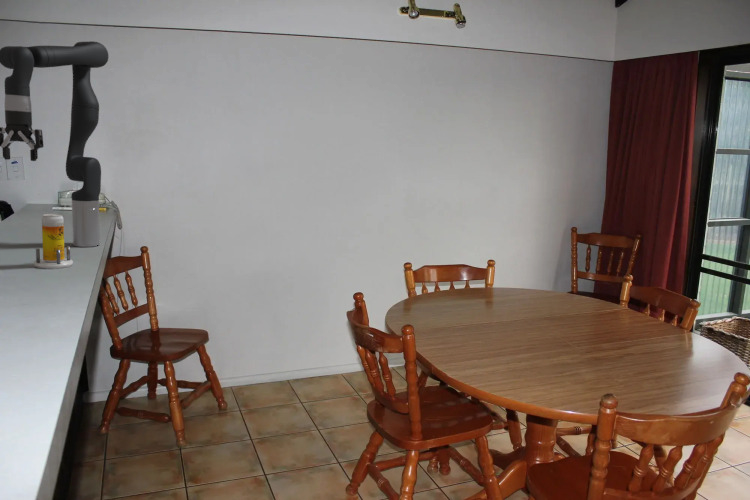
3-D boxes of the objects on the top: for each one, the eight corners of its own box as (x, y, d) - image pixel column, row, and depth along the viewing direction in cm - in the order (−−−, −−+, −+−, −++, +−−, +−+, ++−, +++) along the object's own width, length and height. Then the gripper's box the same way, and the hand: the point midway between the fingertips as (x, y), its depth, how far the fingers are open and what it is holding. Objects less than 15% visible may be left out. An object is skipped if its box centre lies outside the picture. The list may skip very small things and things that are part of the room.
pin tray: (45, 260, 197) (44, 243, 196) (79, 262, 197) (78, 245, 196) (26, 267, 186) (26, 249, 185) (62, 269, 186) (61, 251, 185)
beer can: (58, 263, 188) (56, 216, 186) (39, 262, 188) (37, 215, 186) (68, 260, 194) (67, 214, 192) (50, 258, 194) (48, 213, 192)
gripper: (46, 112, 198) (48, 161, 201) (3, 109, 198) (5, 158, 201) (34, 110, 191) (35, 161, 194) (-12, 108, 190) (-9, 159, 193)
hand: (20, 160), depth 197 cm, fingers open, 8 cm apart
